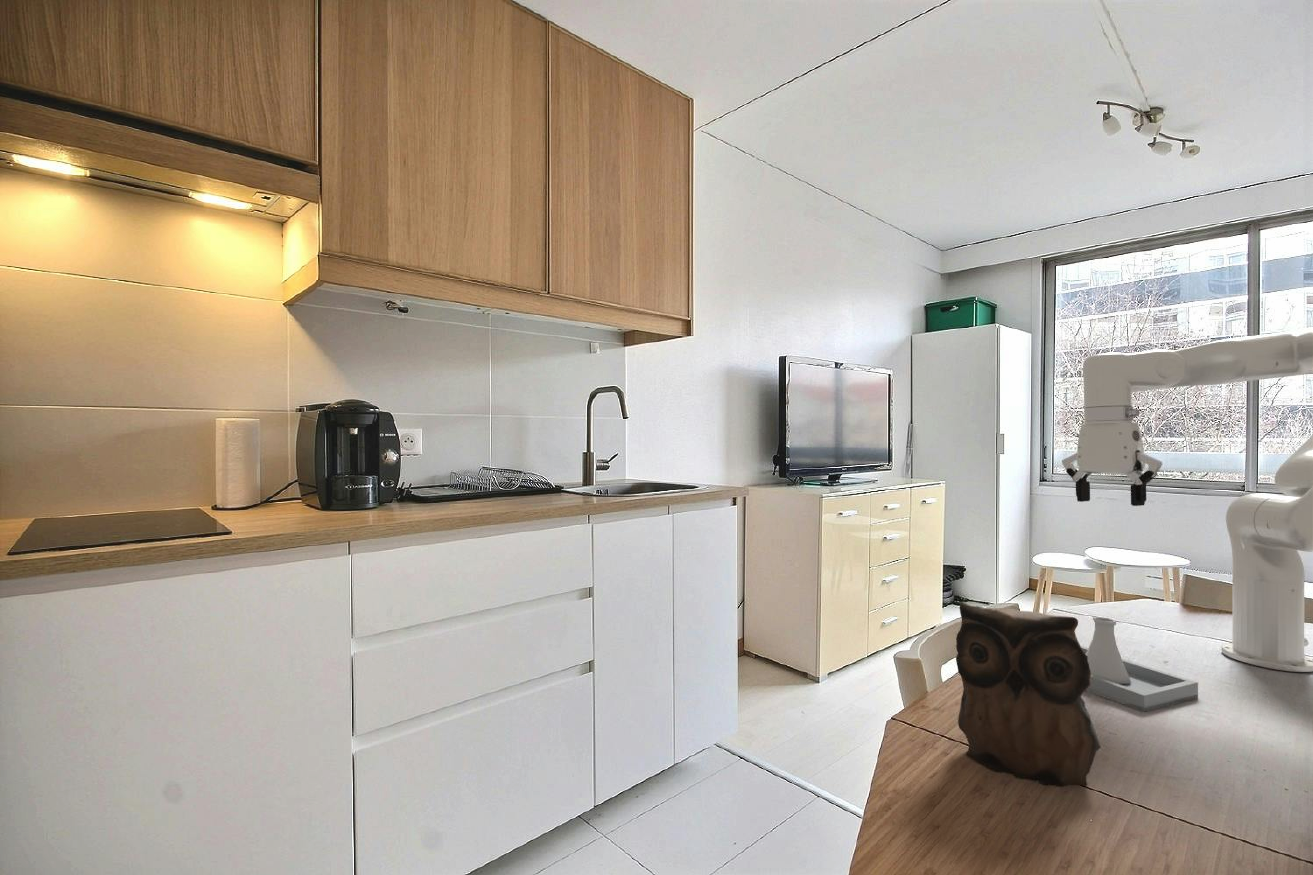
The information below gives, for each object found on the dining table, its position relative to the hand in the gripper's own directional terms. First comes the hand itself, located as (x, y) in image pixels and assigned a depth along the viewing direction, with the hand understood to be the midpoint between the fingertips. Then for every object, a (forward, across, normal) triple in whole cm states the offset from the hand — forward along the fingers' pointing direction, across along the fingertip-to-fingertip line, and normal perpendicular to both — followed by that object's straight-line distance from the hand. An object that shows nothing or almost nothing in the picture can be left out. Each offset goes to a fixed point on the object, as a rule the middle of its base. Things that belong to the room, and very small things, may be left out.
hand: (1109, 503), depth 117 cm
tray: (+29, -8, +17) cm, 35 cm away
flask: (+29, -8, +17) cm, 34 cm away
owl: (+29, -20, +55) cm, 65 cm away
